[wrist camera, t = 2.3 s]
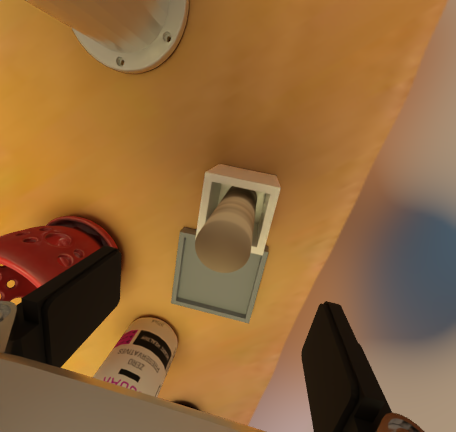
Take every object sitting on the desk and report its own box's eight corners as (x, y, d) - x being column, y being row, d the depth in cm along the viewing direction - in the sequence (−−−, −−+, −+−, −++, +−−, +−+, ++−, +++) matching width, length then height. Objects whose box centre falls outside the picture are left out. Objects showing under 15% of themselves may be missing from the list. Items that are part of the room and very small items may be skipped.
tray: (184, 227, 30) (179, 231, 28) (268, 246, 29) (268, 252, 27) (175, 295, 33) (171, 303, 32) (249, 314, 33) (248, 323, 31)
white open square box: (219, 163, 27) (205, 171, 20) (276, 175, 26) (280, 187, 19) (210, 216, 29) (195, 239, 22) (262, 228, 28) (262, 255, 22)
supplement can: (136, 353, 38) (62, 476, 24) (125, 312, 36) (37, 424, 22) (182, 356, 37) (133, 489, 23) (175, 315, 35) (115, 435, 21)
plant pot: (30, 224, 33) (-88, 268, 22) (104, 198, 30) (10, 233, 19) (75, 298, 37) (-8, 369, 25) (146, 281, 34) (86, 353, 22)
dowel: (229, 180, 26) (199, 215, 14) (260, 186, 26) (256, 228, 14) (223, 209, 28) (191, 265, 15) (253, 216, 27) (244, 278, 15)
